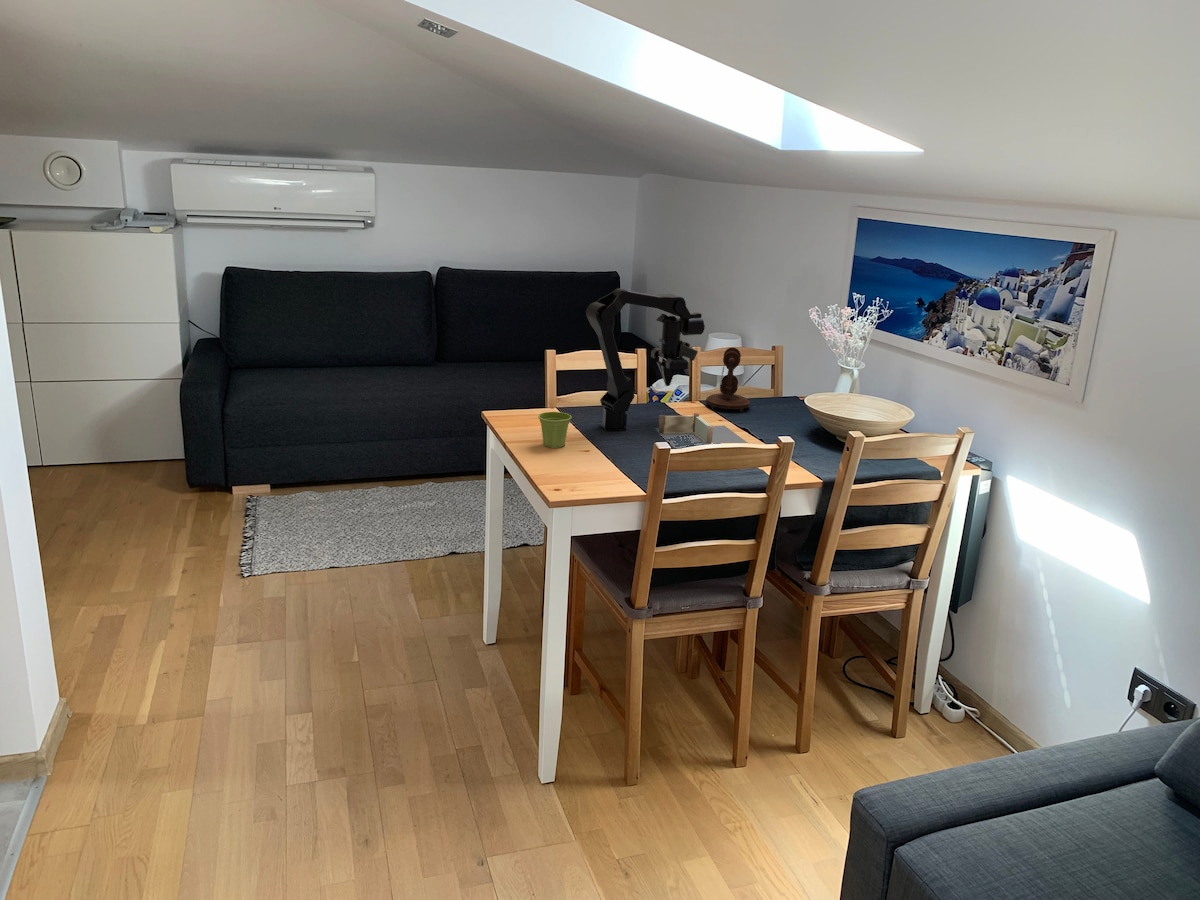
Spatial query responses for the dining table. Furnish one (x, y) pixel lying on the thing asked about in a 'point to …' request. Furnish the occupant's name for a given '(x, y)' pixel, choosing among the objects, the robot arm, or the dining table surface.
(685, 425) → the fence fixed section
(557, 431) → the plant pot
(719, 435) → the card
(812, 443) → the dining table surface
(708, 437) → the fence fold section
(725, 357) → the brown round-based upright piece
